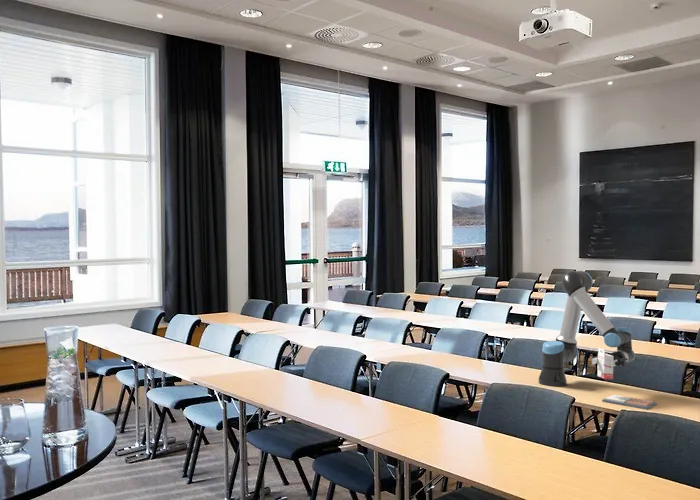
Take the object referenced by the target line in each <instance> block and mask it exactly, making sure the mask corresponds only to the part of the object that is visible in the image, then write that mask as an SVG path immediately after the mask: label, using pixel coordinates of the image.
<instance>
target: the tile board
mask: <svg viewBox="0 0 700 500" xmlns="http://www.w3.org/2000/svg"><path fill="white" fill-rule="evenodd" d="M601 401H602V403H609V404H613V405H619V406H623V407H624V406H625V407H631V408H636V409H643V410H648V409H650V408H653V407H655V406H656V405H658V402H656V401H652V400H648V399H642V398H636V397H635V398H634V397H629V396H623V395H619V394H612V395H610V396H607V397H605V398H603V399H602V400H601Z"/></svg>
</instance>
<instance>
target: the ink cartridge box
mask: <svg viewBox="0 0 700 500" xmlns="http://www.w3.org/2000/svg"><path fill="white" fill-rule="evenodd" d="M605 352H606V349H603V348H601V347H598V352H597V356H598V363H597V377H599V378H602V379H603V380H613V379H614V367H611V361H613V357H614V356H612V355H610V353H609V354H608V353H605Z"/></svg>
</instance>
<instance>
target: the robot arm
mask: <svg viewBox="0 0 700 500" xmlns="http://www.w3.org/2000/svg"><path fill="white" fill-rule="evenodd" d="M561 277H562V278H561V286H562V288H563V290H564V291H565V293H566V294H567V298H566V304H565V309H564V313H563V318H562V321H561V322H562V323H561V326H560V327H561V328H560V332H559V335H558V336H556V337H555V340H550V341H548V340H547V341H545V342H543V344H542V348H541V351H542V354H541V357H542V359H541V360H542V362H541V365H542V366H541V367H542V368H541V371H540V375H539V376H538V383H539V384H541V385H543V386H544V385H545V386H549V387H565V386H567V383H568V381H567V377H566V374H565V369H564V367H565V363H571V362H572V361H574V360H575V359H576V358H577V357H578V354H579V349H578V347H577V344H578V341H577V339H576V336H577V332H578V326H579V322H580V318H581V317H580V316H581V312H582V311H583V313H584V314H585V316H586V317H588V319H589V321H591V323H592V324H593V326H594V327H595V328H596V329H597V331H598V332H599V333H600V335H601V336H602V337H603V342H604V344H605V345H606V346H607V347H609V348H616V351H612V352H611V353H609V355H612V356H614V357H613V361H611V367H613V368H614V367H619V366H620V367H624V366H625V365H627V364H630V363H631V362H633V361H634V360H635V357H636V354H635V351H634V350H633V347H632V346H633V344H632V341H633V340H632V331H631V328H630V326H629V327H628V326H623V327H622V326H620V327H619V326H618V327H616V328H615V326H614V325H613V323H611V321H610V319H608V317H607V316H606V315H605V314H604V312H603V311H602V310H601V309H600V307H599V306H598V305H597V303H596V302H595V301H594V300H593V298H592V297H591V295H589V290H591V289H592V287H593V284H594V280H593V278H592V276H591V274H589V273H588V271H587V272H586V271H583V270H570V271H567V272H566V273H564V274H563V276H561ZM596 364H597V365H598V355H597V356H596V355H595V356H592V357H591V365H596Z"/></svg>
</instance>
